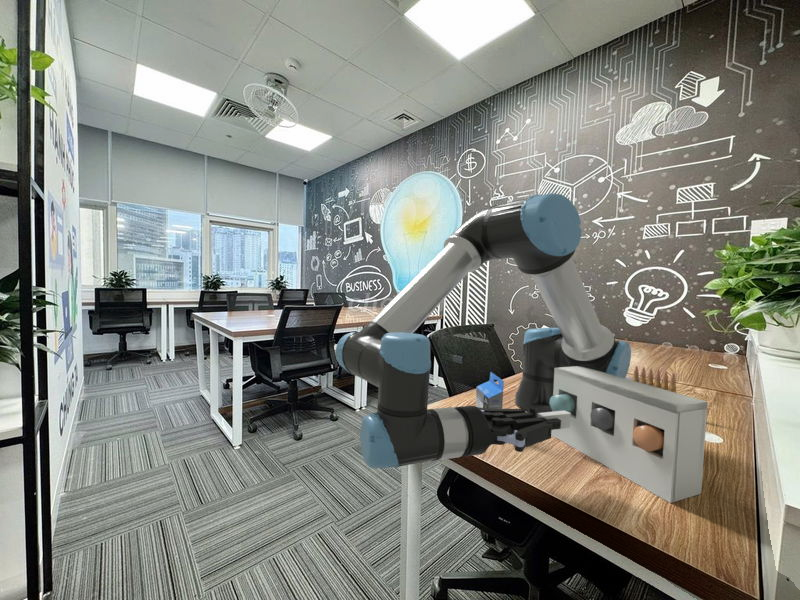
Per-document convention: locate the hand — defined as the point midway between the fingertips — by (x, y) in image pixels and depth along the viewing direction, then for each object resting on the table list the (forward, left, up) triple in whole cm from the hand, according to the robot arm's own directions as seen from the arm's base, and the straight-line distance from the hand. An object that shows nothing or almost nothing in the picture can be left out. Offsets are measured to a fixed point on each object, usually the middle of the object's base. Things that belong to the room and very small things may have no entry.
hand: (567, 419), depth 60 cm
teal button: (-9, +8, -3) cm, 12 cm away
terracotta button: (+8, +10, -3) cm, 13 cm away
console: (0, +14, -10) cm, 17 cm away
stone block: (-32, +64, -11) cm, 73 cm away
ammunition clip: (-17, +52, -10) cm, 55 cm away
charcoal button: (0, +10, -3) cm, 11 cm away
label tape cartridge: (-22, -1, -10) cm, 25 cm away
